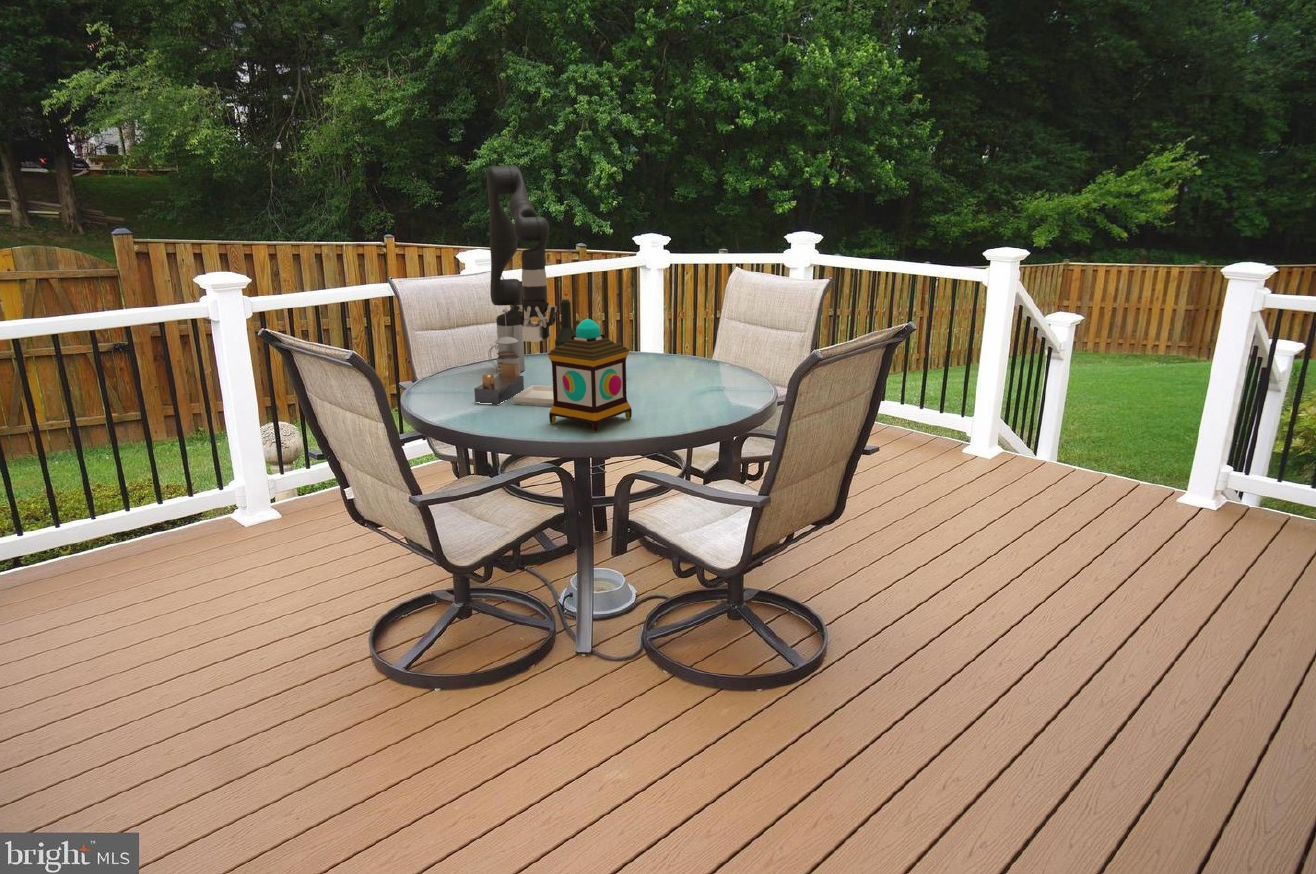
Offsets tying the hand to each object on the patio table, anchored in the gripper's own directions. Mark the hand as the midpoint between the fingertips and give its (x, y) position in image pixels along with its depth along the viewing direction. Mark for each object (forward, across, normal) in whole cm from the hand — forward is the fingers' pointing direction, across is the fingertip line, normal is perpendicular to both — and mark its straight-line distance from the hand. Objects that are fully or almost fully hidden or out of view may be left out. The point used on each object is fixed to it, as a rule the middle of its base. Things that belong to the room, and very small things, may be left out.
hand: (537, 338), depth 273 cm
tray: (+20, -1, -1) cm, 20 cm away
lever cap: (0, 0, 0) cm, 0 cm away
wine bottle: (+20, -4, -16) cm, 26 cm away
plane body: (+20, +14, 0) cm, 24 cm away
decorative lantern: (+20, -24, +20) cm, 37 cm away
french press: (+20, +22, -23) cm, 38 cm away
